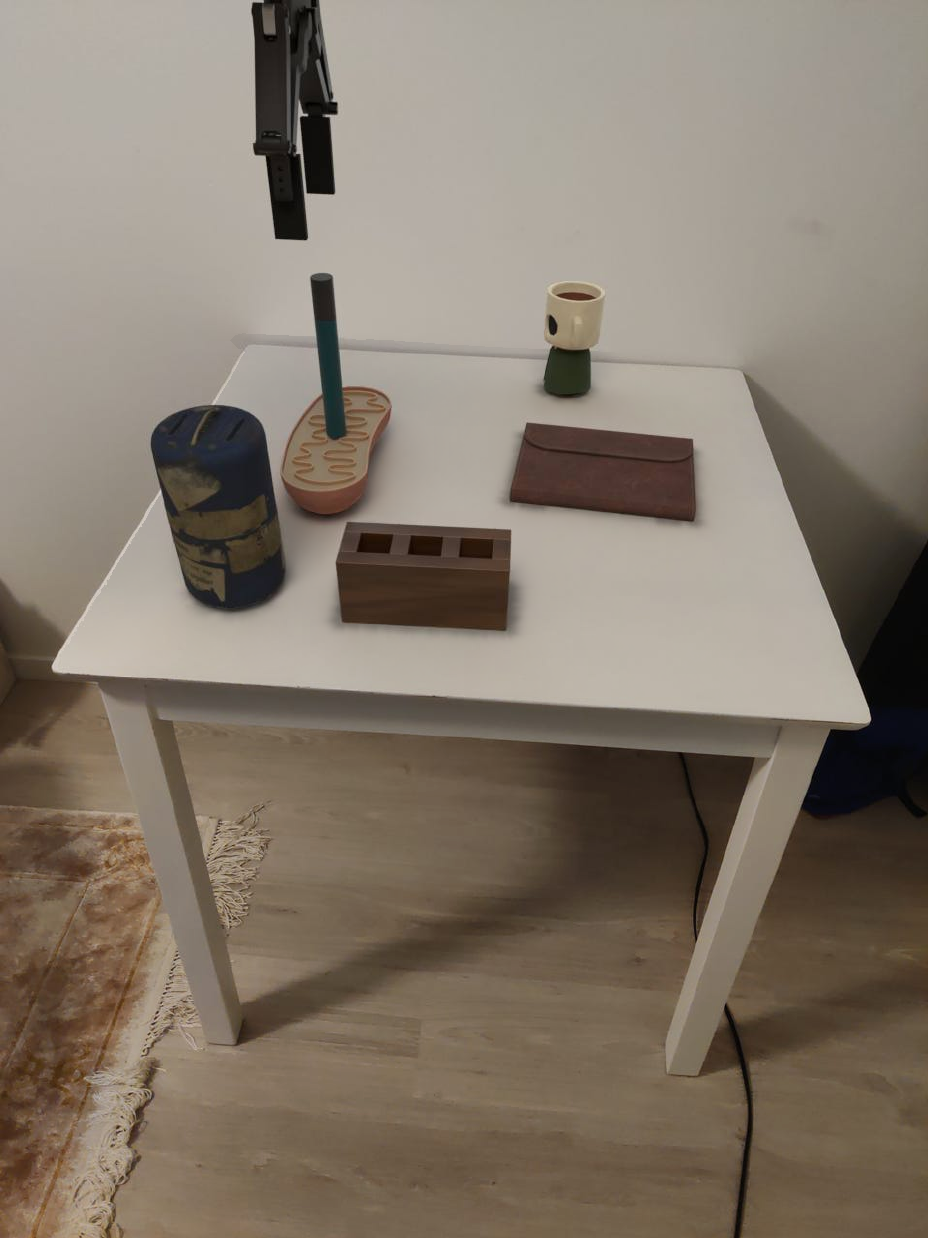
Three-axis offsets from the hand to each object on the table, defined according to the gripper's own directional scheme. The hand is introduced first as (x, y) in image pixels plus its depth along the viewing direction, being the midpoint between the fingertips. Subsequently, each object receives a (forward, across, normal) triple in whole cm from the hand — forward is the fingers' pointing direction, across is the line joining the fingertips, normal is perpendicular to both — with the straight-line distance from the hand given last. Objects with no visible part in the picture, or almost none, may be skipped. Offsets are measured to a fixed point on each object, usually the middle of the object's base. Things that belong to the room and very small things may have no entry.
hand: (307, 214), depth 78 cm
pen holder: (+28, -22, -13) cm, 37 cm away
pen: (+23, +1, -1) cm, 23 cm away
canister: (+28, -20, +6) cm, 35 cm away
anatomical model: (+28, +1, -1) cm, 28 cm away
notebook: (+28, +2, -31) cm, 42 cm away
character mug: (+28, +24, -27) cm, 46 cm away
